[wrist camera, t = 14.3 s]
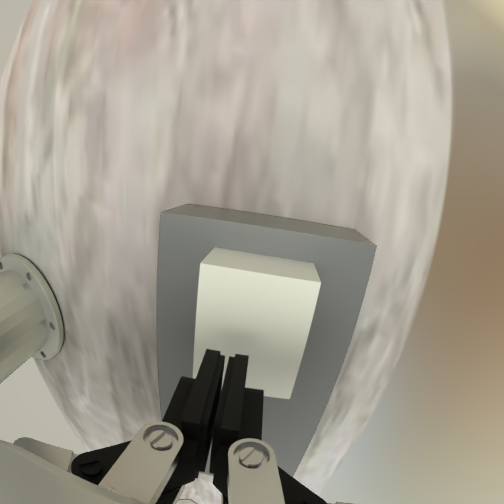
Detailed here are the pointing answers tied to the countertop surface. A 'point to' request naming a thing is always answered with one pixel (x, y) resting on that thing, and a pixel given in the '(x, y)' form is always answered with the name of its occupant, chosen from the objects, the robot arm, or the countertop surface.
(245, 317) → the plug
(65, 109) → the countertop surface
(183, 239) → the socket board
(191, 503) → the medicine bottle
